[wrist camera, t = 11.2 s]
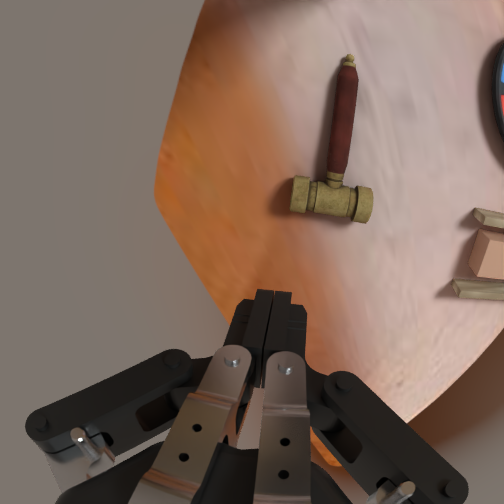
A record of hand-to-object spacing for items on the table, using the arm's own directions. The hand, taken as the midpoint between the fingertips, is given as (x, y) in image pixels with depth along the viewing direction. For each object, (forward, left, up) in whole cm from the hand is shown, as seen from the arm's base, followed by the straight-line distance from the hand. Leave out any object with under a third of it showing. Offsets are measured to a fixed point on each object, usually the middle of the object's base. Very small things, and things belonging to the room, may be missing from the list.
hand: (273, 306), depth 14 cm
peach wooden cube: (+9, +32, -29) cm, 44 cm away
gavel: (-4, +5, -30) cm, 30 cm away
